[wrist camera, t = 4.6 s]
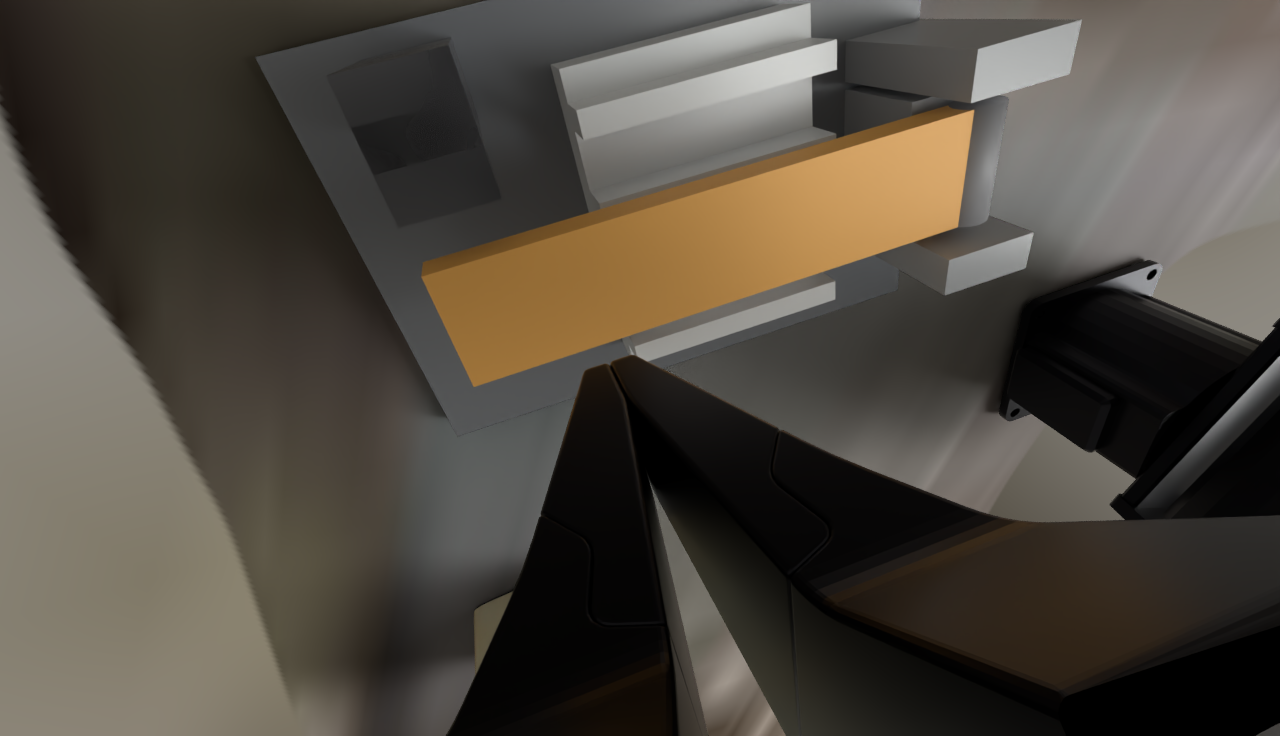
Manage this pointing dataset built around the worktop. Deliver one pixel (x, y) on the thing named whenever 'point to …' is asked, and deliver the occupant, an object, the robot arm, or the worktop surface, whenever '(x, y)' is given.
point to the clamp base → (659, 145)
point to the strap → (715, 239)
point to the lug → (418, 131)
